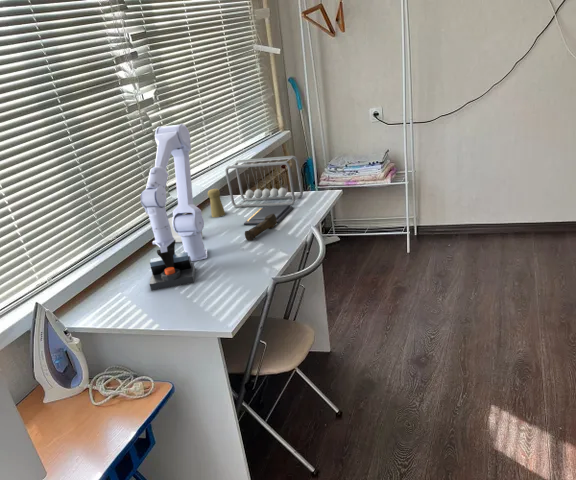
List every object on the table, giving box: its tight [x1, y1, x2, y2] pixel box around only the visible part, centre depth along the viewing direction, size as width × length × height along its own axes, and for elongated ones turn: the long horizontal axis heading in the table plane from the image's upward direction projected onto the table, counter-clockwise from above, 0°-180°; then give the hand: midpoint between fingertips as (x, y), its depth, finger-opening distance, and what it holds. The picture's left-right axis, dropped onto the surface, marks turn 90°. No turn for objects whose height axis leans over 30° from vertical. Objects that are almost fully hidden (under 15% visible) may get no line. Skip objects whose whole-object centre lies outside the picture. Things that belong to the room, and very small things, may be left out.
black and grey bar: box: [149, 251, 193, 275], centre depth 202 cm, size 4×13×4 cm, turn 96°
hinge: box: [168, 216, 204, 243], centre depth 237 cm, size 17×5×10 cm, turn 73°
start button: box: [165, 267, 175, 275], centre depth 196 cm, size 3×3×2 cm
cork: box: [207, 188, 226, 218], centre depth 257 cm, size 6×6×11 cm
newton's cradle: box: [224, 155, 304, 209], centre depth 260 cm, size 30×10×18 cm, turn 68°
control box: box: [149, 262, 196, 292], centre depth 201 cm, size 13×14×4 cm
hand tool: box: [244, 214, 278, 242], centre depth 229 cm, size 19×4×5 cm, turn 146°
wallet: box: [243, 205, 294, 226], centre depth 246 cm, size 20×2×15 cm
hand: (171, 266), depth 202 cm, fingers open, 5 cm apart
